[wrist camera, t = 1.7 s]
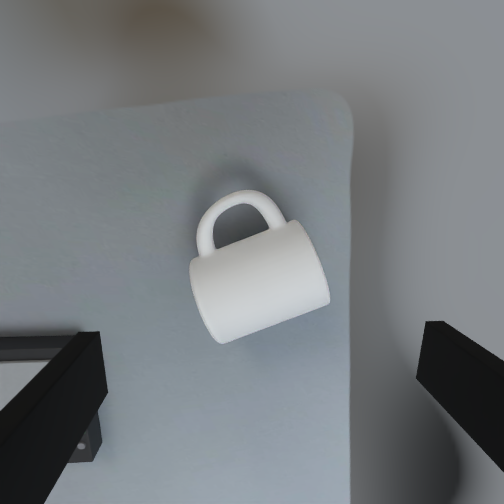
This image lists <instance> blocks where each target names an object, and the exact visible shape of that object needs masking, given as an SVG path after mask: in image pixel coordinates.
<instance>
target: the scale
mask: <svg viewBox="0 0 504 504" xmlns="http://www.w3.org/2000/svg"><path fill="white" fill-rule="evenodd" d="M74 336H75V335H73V336H36V337H0V411H1V410H2V409H3V408H4V407H5V406H6V405H7V404H8V403H9V402H10V401H11V400H12V399H13V398H14V397H15V396H16V395H17V394H18V393H19V392H20V391H21V390H22V389H23V388H24V387H25V386H26V385H27V384H28V383H29V382H30V381H31V380H32V378H33V377H34V376H35V375H36V374H37V373H38V372H39V371H40V370H41V369H42V368H43V367H44V366H45V365H46V364H47V363H48V362H49V361H50V360H51V359H52V358H53V357H54V356H55V355H56V354H57V353H58V352H59V351H60V350H61V349H62V348H63V347H64V346H65V345H66V344H67V343H68V342H69V341H70V340H71V339H72V338H73V337H74ZM101 444H102V438H101V431H100V425H99V418H98V411H97V412H96V414H95V416H94V418H93V419H92V421H91V423H90V425H89V426H88V428H87V430H86V431H85V433H84V435H83V437H82V438H81V440H80V442H79V444H78V445H77V447H76V449H75V451H74V452H73V454H72V456H71V458H70V459H69V461H68V463H77V462H92V461H93V460H94V458H95V456H96V454H97V452H98V450H99V448H100V446H101Z"/></svg>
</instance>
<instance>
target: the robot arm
mask: <svg viewBox="0 0 504 504" xmlns="http://www.w3.org/2000/svg"><path fill="white" fill-rule="evenodd" d="M416 379H417V380H418V381H419V382H420V383H421V384H422V385H423V386H424V388H426V390H427V391H428V392H429V393H430V394H431V395H432V396H433V397H434V398H435V399H436V400H437V401H438V402H439V404H441V406H442V407H443V408H444V409H445V410H446V411H447V412H448V413H449V414H450V415H451V416H452V417H453V419H454V420H455V421H456V422H457V423H458V424H459V425H460V426H461V427H462V428H463V429H464V430H465V431H466V432H467V433H468V435H469V436H470V437H471V438H472V439H473V440H474V441H475V442H476V443H477V444H478V445H479V446H480V447H481V448H482V450H483V451H484V452H485V453H486V454H487V455H488V456H489V457H490V458H491V459H492V460H493V461H494V462H495V463H496V464H497V466H498V467H499V468H500V469H501V470H502V471H503V472H504V361H503V360H501V359H500V358H498V357H497V356H495V355H494V354H492V353H491V352H489V351H488V350H486V349H485V348H483V347H482V346H480V345H479V344H477V343H476V342H474V341H473V340H471V339H470V338H468V337H466V336H465V335H463V334H462V333H461V332H459V331H457V330H456V329H455V328H453V327H452V326H450V325H449V324H447V323H445V322H444V321H426V323H425V329H424V334H423V340H422V346H421V352H420V358H419V364H418V369H417V375H416ZM107 393H108V389H107V382H106V375H105V367H104V360H103V353H102V345H101V338H100V331H97V332H78V333H77V334H76V335H75V336H74V337H73V338H72V339H71V340H70V341H69V342H68V343H67V344H66V345H65V346H64V347H63V348H62V349H61V350H60V351H59V352H58V353H57V354H56V355H55V356H54V357H53V358H52V359H51V360H50V361H49V362H48V363H47V364H46V365H45V366H44V367H43V368H42V369H41V370H40V371H39V372H38V373H37V374H36V375H35V376H34V377H33V378H32V380H31V381H30V382H29V383H28V384H27V385H26V386H25V387H24V388H23V389H22V390H21V391H20V392H19V393H18V394H17V395H16V396H15V397H14V398H13V399H12V400H11V401H10V402H9V403H8V404H7V405H6V406H5V407H4V408H3V409H2V410H1V411H0V504H44V503H45V501H46V499H47V497H48V496H49V494H50V492H51V490H52V489H53V487H54V485H55V484H56V482H57V480H58V478H59V477H60V475H61V473H62V471H63V470H64V468H65V466H66V464H67V463H68V461H69V459H70V458H71V456H72V454H73V452H74V451H75V449H76V447H77V445H78V444H79V442H80V440H81V438H82V437H83V435H84V433H85V431H86V430H87V428H88V426H89V425H90V423H91V421H92V419H93V418H94V416H95V414H96V412H97V411H98V409H99V407H100V405H101V404H102V402H103V400H104V398H105V397H106V395H107Z"/></svg>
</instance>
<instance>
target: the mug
mask: <svg viewBox="0 0 504 504" xmlns="http://www.w3.org/2000/svg"><path fill="white" fill-rule="evenodd" d="M242 203H246V204H250V205H252V206H254V207H255V208H256V209H257V210H258V211H259V212H260V213H261V214H262V216H263V217H264V219H265V220H266V222H267V224H268V226H269V229H268V230H266V231H263V232H261V233H258V234H255V235H253V236H250V237H248V238H245V239H242V240H240V241H237V242H235V243H232V244H230V245H227V246H224V247H222V248H219V249H216V248H215V245H214V240H213V226H214V223H215V221H216V219H217V217H218V216H219V215H220V214H221V213H222V212H224V211H225V210H227V209H228V208H230V207H232V206H234V205H237V204H242ZM196 241H197V248H198V252H199V257H196V258H193V259H192V260H191V262H190V265H189V276H190V282H191V287H192V291H193V295H194V298H195V301H196V304H197V307H198V310H199V312H200V315H201V317H202V319H203V321H204V323H205V325H206V327H207V329H208V331H209V332H210V334H211V335H212V337H213V338H214V339H215V340H216V341H217V342H218V343H220V344H224V343H227V342H230V341H232V340H235V339H238V338H240V337H243V336H246V335H248V334H251V333H254V332H256V331H259V330H262V329H264V328H267V327H270V326H272V325H275V324H278V323H280V322H283V321H286V320H288V319H291V318H294V317H296V316H299V315H302V314H304V313H307V312H310V311H312V310H315V309H318V308H320V307H323V306H326V305H328V304H329V302H330V292H329V287H328V283H327V280H326V277H325V274H324V271H323V268H322V265H321V262H320V260H319V257H318V255H317V253H316V250H315V248H314V246H313V244H312V242H311V240H310V238H309V236H308V234H307V232H306V231H305V229H304V228H303V226H302V225H301V224H300V223H299V222H298V221H297V220H292V221H289V222H286V221H285V219H284V217H283V215H282V213H281V211H280V209H279V208H278V206H277V205H276V204H275V203H274V201H273V200H272V199H271V198H269V197H268V196H267V195H265V194H263V193H261V192H259V191H255V190H241V191H237V192H234V193H231V194H229V195H227V196H225V197H223V198H221V199H220V200H218V201H217V202H215V203H214V204H213V205H212V206H211V207H210V208H209V209H208V210H207V211H206V212H205V214H204V215H203V217H202V218H201V220H200V223H199V225H198V229H197V235H196Z"/></svg>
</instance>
